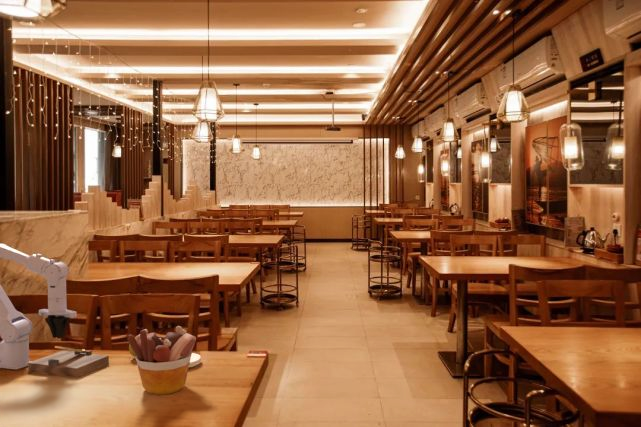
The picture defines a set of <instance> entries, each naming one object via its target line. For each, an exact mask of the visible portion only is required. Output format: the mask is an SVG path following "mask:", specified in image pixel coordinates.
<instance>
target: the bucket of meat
mask: <svg viewBox="0 0 641 427" xmlns="http://www.w3.org/2000/svg"><path fill="white" fill-rule="evenodd" d="M175 331H176V332H171V331H169V332H166V334H165V336H164V338H163V339H162V338H161V337H159V336H158V335H157V334H156V332H150V333H149V330H148V329H147V328H145V329H142V330H140V332H139V334H138V335H136V336H137V337H136V336H135V335H133V334H128V335H127V340H126V341H128V343H129V344H130V345H131V347H132V349H133V351H134V353H135V354H136V356H135V361H136V363H137V364H136V365H137V368H138V372H139V377H140V381H141V385H142V388H144V390H145V391H146V392H147V393H148V394H150V395H154V396H155V395H157V396H164V395H165V396H166V395H172V394H175V393H177V392H180V391H181V390H182V388H183V387H184V386H185V385H186V382H187V377H188V373H189V372H188V371H189V368H190V367H189V363H190V359H191V355H192V353H193V349H194V346H195V344H196V340H197V337H196V336H195V335H192V334H190V333H187V330H186V329H185V328H184V329H183V327H182V326H180V325H177V326H175ZM135 337H136V338H137V341H136V339H135Z"/></svg>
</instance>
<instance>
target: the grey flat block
mask: <svg viewBox="0 0 641 427" xmlns="http://www.w3.org/2000/svg"><path fill="white" fill-rule="evenodd" d="M78 350H81V349H78ZM109 357H110V355H109V354H108V355H107V354H106V355H105V354H97V353H92V350H91V349H90V350H86V353H79V352H76V351H70V350H61V351H58V352H55V353H53V354H49V355H47V356H43V357H40V358H38V359H35V360H31V361H32V362H29V363H28V366H27V368H28V373H37V374H44V375H52V376H53V375H54V376H58V377H59V376H60V377H69V378H75V379H76V378H79V377H82V376H84V375H86V374H89V373H91V372H93V371H96V370H99V369H101V368H104V367H106V366H107V365H109V364H110V360H109V359H110V358H109Z"/></svg>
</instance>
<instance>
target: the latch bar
mask: <svg viewBox="0 0 641 427" xmlns="http://www.w3.org/2000/svg"><path fill="white" fill-rule="evenodd" d="M54 349H60V350H63V351H69V352H74V351H76V352H79V353H86V351H87V350H85V349H80V350H78V349H77V348H72V347H65V346H59V345H55V346H54Z"/></svg>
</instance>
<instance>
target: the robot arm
mask: <svg viewBox="0 0 641 427" xmlns="http://www.w3.org/2000/svg"><path fill="white" fill-rule="evenodd" d="M1 259H5V260H10V261H12V262H14V263H15V262H16V263H19V264H22V265H24V266H25V268H26V270H27V271H30V272H32V273H35V274H37V275H41V276H43V277H44V278H45V279H46V282H47V283H46V284H47V308H42V309H39V310H38V316H39V317H40V316H41V317H42V316H47V317H45V318H44V321H45V322H46V324H47V326H48V328H49V330H50V332H51V337H52V338H53V339H62V338H63V337H64V335H65V331H66V327H67V325H68V323H69V321H70V319H74V318H77V317H78V316H77V315H78V314H77V311H75V310H70V309H67V308H68V307H67V306H68V304H67V276H68V275H69V273H70V267H69V266H68V264H66V263H65V262H64V261H62V260H61V261H60V260H59V261H55V259H53V258H51V259H50V258H46V257H43V254H41V253H33V254H31V255H29V254H27V253H24V252H22V251H19V250H17V249H15V248H13V247H10V246H8V245H7V244H5V243H0V260H1ZM33 325H34V324H33V323H32V321H31V320H30V319H29V318H27V317H26V316H25V314H24V313H22V312H21V311H18V310H17V309H16V308H15V306H14V305H13V303H12V301H11V300H10V298H9V296H8V295H7V292H6V291H5V290H4V288H3V286H2V285H1V284H0V338H1V339H2V340H1V341H0V369H7V370H20V369H22V368H25V367H28V363H29V362H32V361H33V360H31V361H30V345H29V344H30V340H29V339H30V334H31V333H32V331H33Z"/></svg>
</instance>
